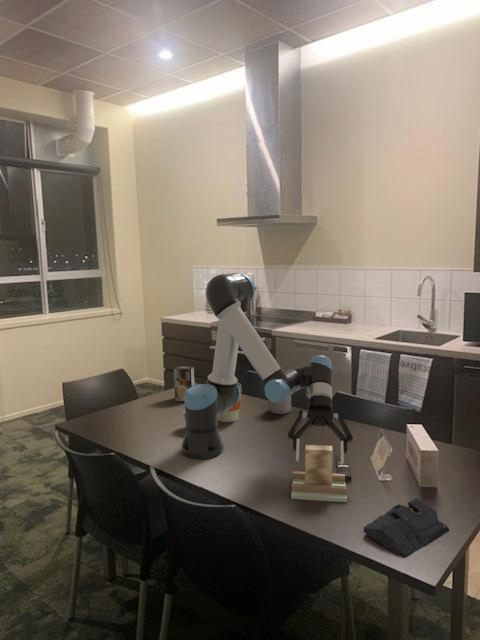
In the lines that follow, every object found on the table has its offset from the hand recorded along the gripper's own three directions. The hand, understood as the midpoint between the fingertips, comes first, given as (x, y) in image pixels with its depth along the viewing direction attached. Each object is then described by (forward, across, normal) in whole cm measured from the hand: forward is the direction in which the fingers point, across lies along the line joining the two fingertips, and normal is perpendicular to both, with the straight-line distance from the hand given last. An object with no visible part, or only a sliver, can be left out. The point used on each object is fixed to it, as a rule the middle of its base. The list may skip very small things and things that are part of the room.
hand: (319, 461), depth 150 cm
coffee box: (-51, +66, -64) cm, 105 cm away
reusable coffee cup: (-34, +40, -46) cm, 70 cm away
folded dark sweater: (+21, -22, +9) cm, 31 cm away
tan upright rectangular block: (+6, 0, -3) cm, 7 cm away
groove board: (+7, 0, -4) cm, 8 cm away
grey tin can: (-43, +18, -56) cm, 72 cm away
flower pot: (-24, +51, -37) cm, 67 cm away
